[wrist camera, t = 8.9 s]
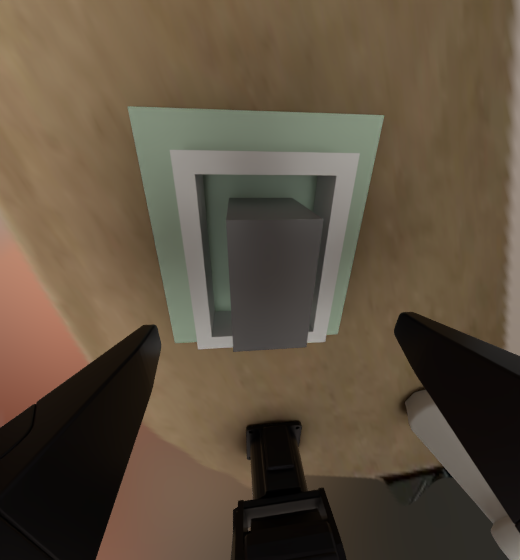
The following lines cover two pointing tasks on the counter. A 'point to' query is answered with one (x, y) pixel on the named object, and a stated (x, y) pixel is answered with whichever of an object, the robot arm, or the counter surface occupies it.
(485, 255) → the counter surface
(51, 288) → the counter surface
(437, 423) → the salt shaker
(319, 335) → the deck plate
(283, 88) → the counter surface
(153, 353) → the robot arm
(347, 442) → the counter surface
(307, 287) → the chute block
